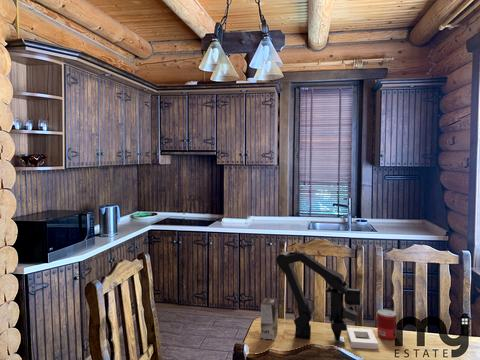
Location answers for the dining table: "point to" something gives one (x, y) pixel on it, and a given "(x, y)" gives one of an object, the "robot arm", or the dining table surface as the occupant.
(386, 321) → the canned food
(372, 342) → the well
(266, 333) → the coffee box
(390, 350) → the dining table surface
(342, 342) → the bracket
